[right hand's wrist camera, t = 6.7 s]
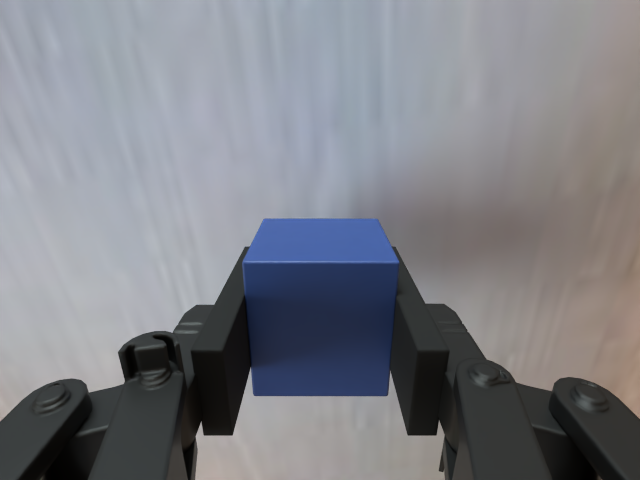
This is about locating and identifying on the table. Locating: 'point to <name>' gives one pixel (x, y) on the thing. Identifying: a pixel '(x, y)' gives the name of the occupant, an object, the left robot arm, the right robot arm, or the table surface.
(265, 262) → the brick
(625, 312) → the table surface
